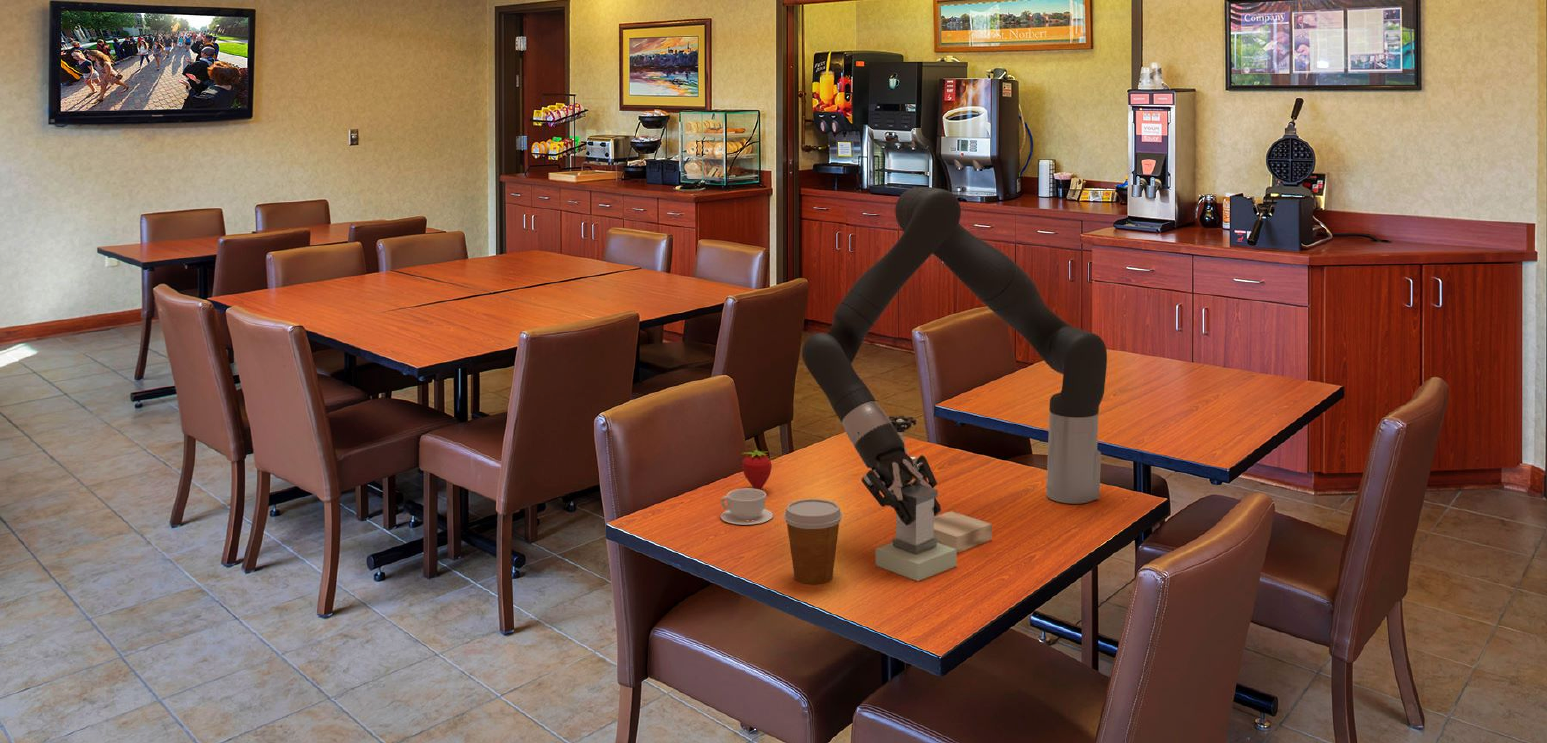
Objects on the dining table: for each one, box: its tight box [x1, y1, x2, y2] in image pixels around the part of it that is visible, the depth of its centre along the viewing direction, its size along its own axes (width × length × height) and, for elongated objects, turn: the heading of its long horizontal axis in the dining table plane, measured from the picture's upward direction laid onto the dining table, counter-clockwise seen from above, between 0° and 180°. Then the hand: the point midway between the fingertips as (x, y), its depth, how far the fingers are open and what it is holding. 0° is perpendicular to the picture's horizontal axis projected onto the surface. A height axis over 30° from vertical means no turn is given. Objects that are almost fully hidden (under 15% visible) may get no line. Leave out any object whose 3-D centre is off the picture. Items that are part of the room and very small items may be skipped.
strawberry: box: [741, 447, 773, 490], centre depth 239 cm, size 6×8×10 cm
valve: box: [888, 414, 917, 459], centre depth 248 cm, size 7×7×12 cm
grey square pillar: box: [892, 483, 939, 555], centre depth 199 cm, size 5×5×10 cm
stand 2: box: [933, 510, 993, 554], centre depth 211 cm, size 10×10×3 cm
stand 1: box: [875, 541, 958, 582], centre depth 200 cm, size 10×10×3 cm
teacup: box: [720, 487, 774, 526], centre depth 225 cm, size 10×10×5 cm
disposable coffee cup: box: [783, 498, 843, 585], centre depth 195 cm, size 10×10×12 cm
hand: (924, 518), depth 197 cm, fingers open, 5 cm apart
